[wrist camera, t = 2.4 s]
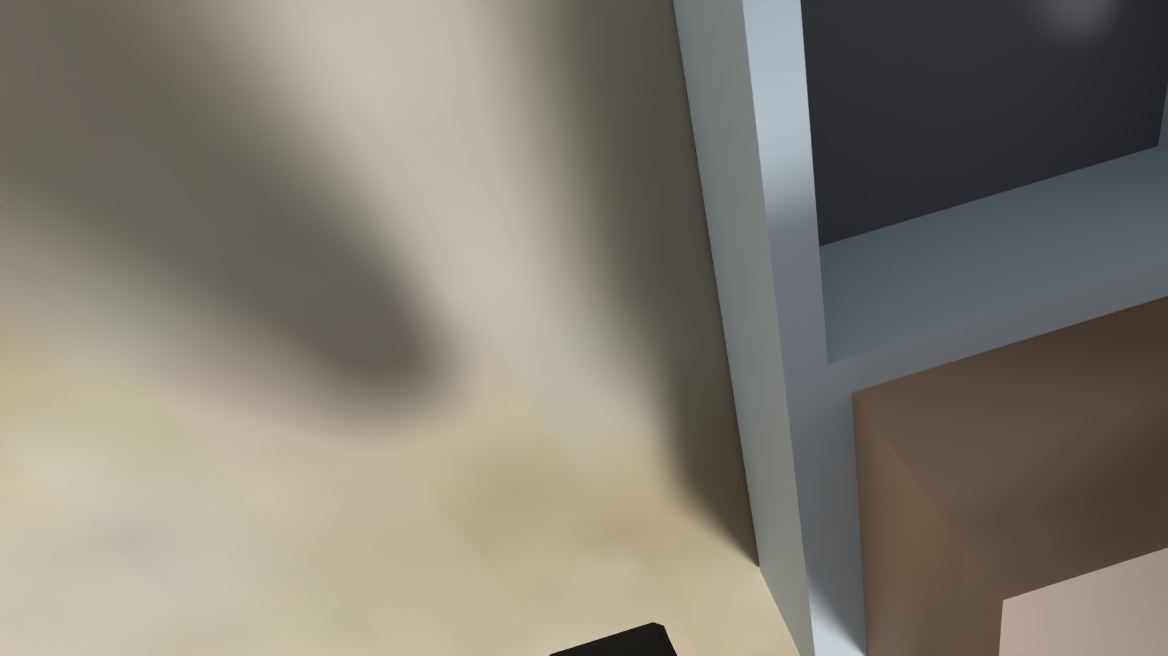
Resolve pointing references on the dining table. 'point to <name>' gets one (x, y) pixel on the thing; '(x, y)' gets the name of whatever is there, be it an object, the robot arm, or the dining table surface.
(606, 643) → the robot arm
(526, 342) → the dining table surface
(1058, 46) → the trap tray
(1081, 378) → the walnut block
